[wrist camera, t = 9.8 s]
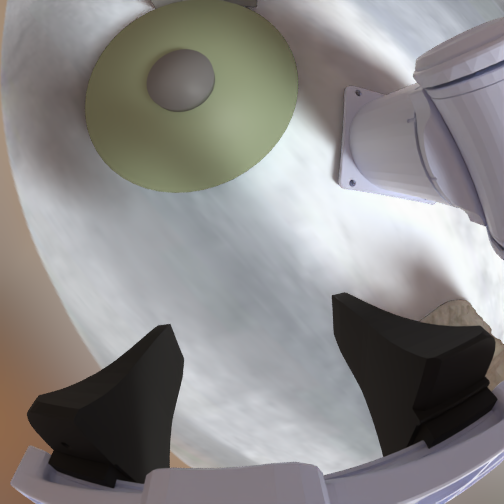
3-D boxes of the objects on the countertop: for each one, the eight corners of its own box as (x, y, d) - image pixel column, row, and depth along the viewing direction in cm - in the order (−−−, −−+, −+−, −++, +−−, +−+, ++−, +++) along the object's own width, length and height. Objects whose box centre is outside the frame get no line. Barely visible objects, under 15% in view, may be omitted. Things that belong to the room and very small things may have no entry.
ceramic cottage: (365, 344, 23) (443, 469, 9) (479, 276, 23) (567, 342, 9) (372, 418, 29) (414, 503, 15) (464, 362, 28) (517, 424, 14)
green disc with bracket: (296, -55, 12) (303, -78, 8) (282, 195, 19) (292, 201, 15) (150, -52, 11) (140, -74, 7) (98, 188, 18) (71, 194, 14)
